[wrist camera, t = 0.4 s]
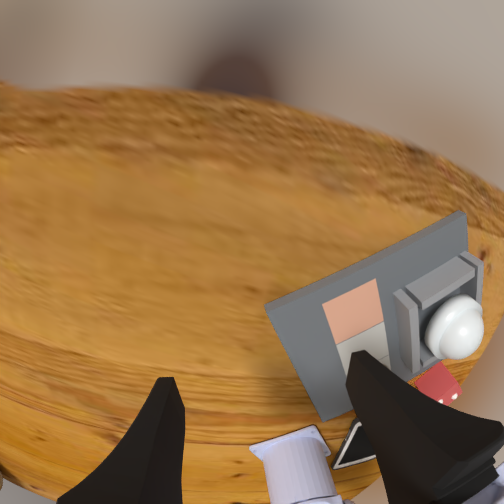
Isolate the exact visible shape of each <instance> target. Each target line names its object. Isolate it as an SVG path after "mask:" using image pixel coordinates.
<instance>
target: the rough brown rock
mask: <svg viewBox="0 0 504 504" xmlns="http://www.w3.org/2000/svg"><path fill="white" fill-rule="evenodd" d="M2 484H3V476H2V473H1V471H0V490H1V488H2Z"/></svg>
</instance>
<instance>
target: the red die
mask: <svg viewBox="0 0 504 504" xmlns="http://www.w3.org/2000/svg"><path fill="white" fill-rule="evenodd" d="M414 383H415V385H416V386H417V387H418V389H419V390H420V392H422V393H423V394H425V395H427V396H429V397H430V398H432V399H434V400H436V401H438V402H440V403H442V404H444V405H446V406H448V405H449V404H450V403H451V402H452V401H453V400H455V399H456V398H457V397H458V396H459V395H460V394H461V393H462V390H461V388H460V386H459V384H458V382H457V381H456V380H455V378H454V377H453V376H452V374H451V373H450V372H449V371H448V369H447V368H446V367H445V366H444V365H443V363H442V362H441V361H440V362H438V363H437V364H435V365H434V366H433V367H432V368H431V369H430V370H429V371H427V372H426V373H425V374H424V375H423V376H422V377H420V378H419V379H418V380H417V381H416V382H414Z"/></svg>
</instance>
